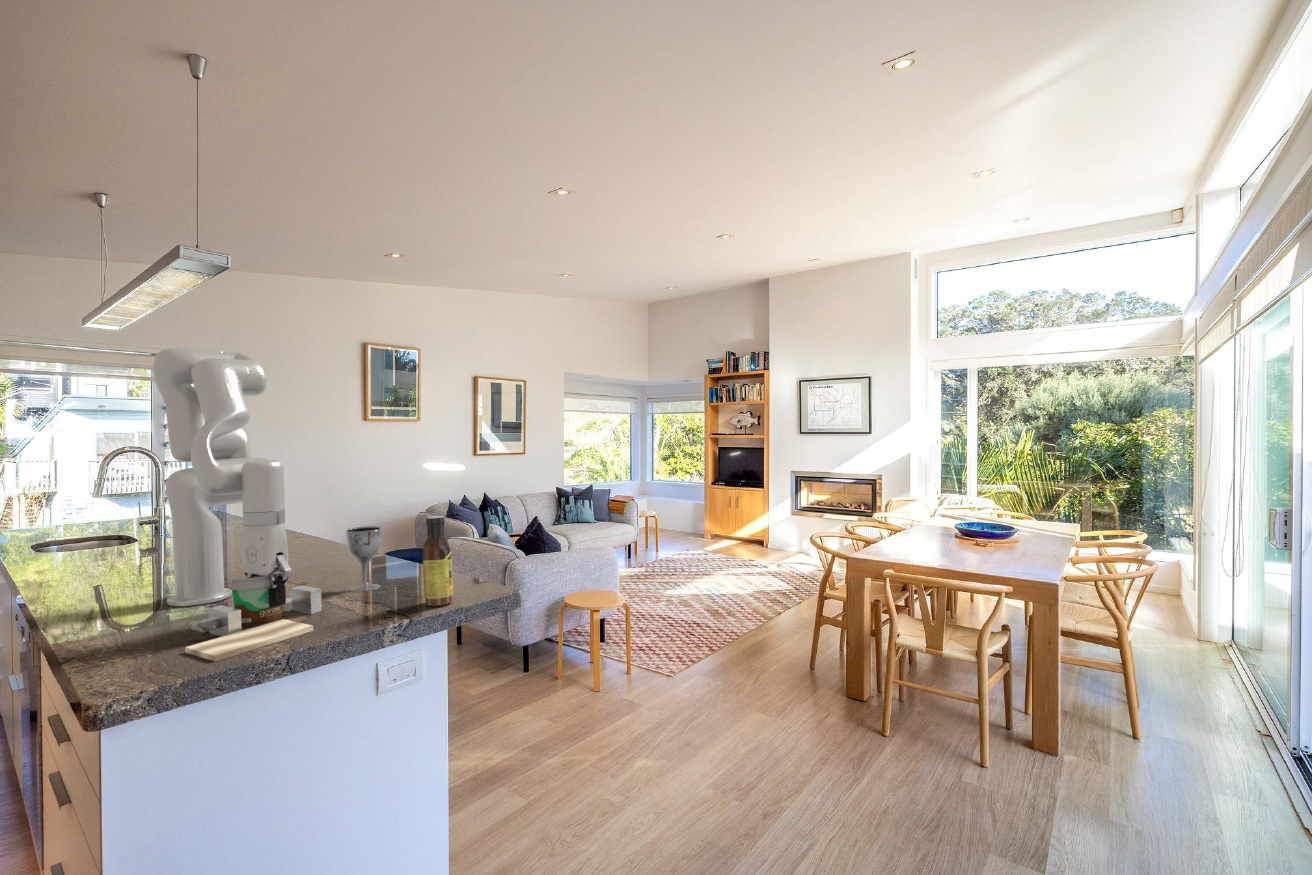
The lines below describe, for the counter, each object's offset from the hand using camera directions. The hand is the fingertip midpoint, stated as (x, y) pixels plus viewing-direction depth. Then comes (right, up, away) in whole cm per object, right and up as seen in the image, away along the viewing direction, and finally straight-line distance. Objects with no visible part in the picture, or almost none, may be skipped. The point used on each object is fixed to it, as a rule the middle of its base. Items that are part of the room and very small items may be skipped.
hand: (266, 602), depth 132 cm
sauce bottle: (+32, -3, +11) cm, 34 cm away
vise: (-3, -4, 0) cm, 5 cm away
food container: (0, -4, 0) cm, 4 cm away
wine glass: (+9, -3, +26) cm, 28 cm away
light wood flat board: (+5, -4, -12) cm, 14 cm away
